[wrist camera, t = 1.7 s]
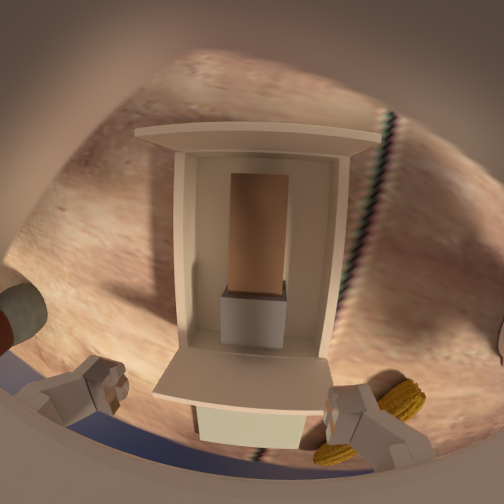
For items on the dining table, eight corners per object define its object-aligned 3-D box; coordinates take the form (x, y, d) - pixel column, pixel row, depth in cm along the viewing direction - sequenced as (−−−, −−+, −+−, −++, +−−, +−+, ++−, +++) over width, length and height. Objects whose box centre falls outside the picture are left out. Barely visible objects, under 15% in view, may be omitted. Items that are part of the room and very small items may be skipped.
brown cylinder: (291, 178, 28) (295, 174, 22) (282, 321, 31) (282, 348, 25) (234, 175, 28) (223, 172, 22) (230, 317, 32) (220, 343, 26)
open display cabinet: (338, 155, 27) (381, 130, 15) (320, 342, 32) (337, 416, 19) (191, 149, 29) (135, 125, 16) (192, 332, 33) (153, 398, 21)
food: (401, 368, 32) (416, 393, 26) (420, 381, 33) (435, 405, 27) (305, 447, 37) (306, 473, 31) (327, 455, 37) (331, 480, 32)
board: (316, 361, 33) (317, 366, 32) (297, 443, 37) (298, 448, 35) (193, 351, 34) (191, 356, 33) (202, 435, 38) (200, 440, 37)
